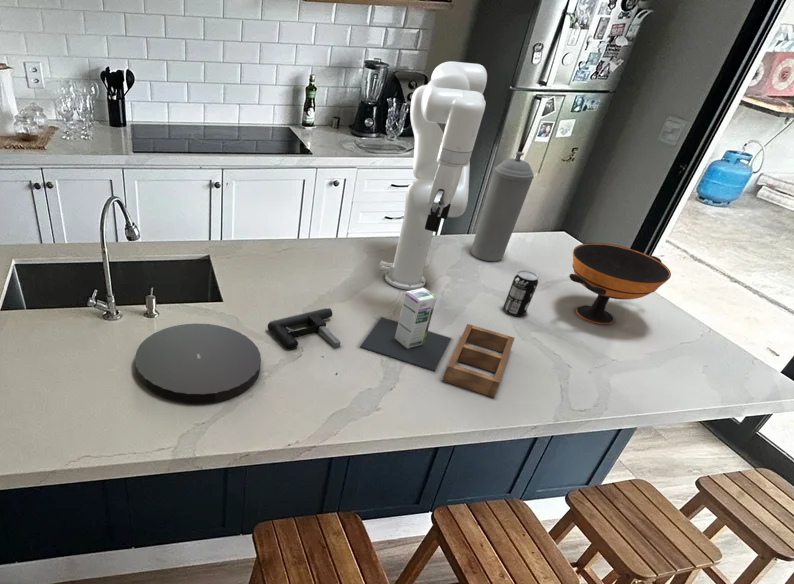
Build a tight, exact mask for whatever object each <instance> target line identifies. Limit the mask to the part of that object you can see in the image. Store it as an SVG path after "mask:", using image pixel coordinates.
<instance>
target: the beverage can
mask: <svg viewBox="0 0 794 584" xmlns="http://www.w3.org/2000/svg"><path fill="white" fill-rule="evenodd" d="M538 284H539V275H538V274H536V273H535V272H533V271H530V270H519V271H518V272H517V274H516V275H515V276H514V277H513V279H512V283H511V285H510V287H509V291H508V293H507V295H506V298H505V301H504V304H503V310H504V311H505V313H507V314H508V315H511V316H513V317H521V316H523V315H525V314H526V313H527V312H528V309H529V306H530V304H531V302H532V299H533V296H534V294H535V292H536V289H537V287H538Z"/></svg>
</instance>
